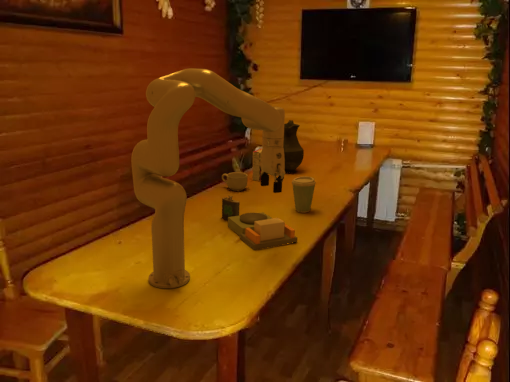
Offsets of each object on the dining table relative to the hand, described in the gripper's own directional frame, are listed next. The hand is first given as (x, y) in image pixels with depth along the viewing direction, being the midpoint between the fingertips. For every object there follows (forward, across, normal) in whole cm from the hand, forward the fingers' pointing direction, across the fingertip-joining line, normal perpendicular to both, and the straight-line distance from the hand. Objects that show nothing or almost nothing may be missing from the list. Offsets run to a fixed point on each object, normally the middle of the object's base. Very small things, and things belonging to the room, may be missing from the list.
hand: (270, 189), depth 171 cm
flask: (+21, +28, +4) cm, 35 cm away
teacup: (+20, +71, -18) cm, 76 cm away
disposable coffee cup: (+20, +27, -32) cm, 46 cm away
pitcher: (+20, +95, -64) cm, 117 cm away
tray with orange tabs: (+20, +8, -1) cm, 22 cm away
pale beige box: (+18, 0, 0) cm, 19 cm away
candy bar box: (+20, +85, -40) cm, 96 cm away
